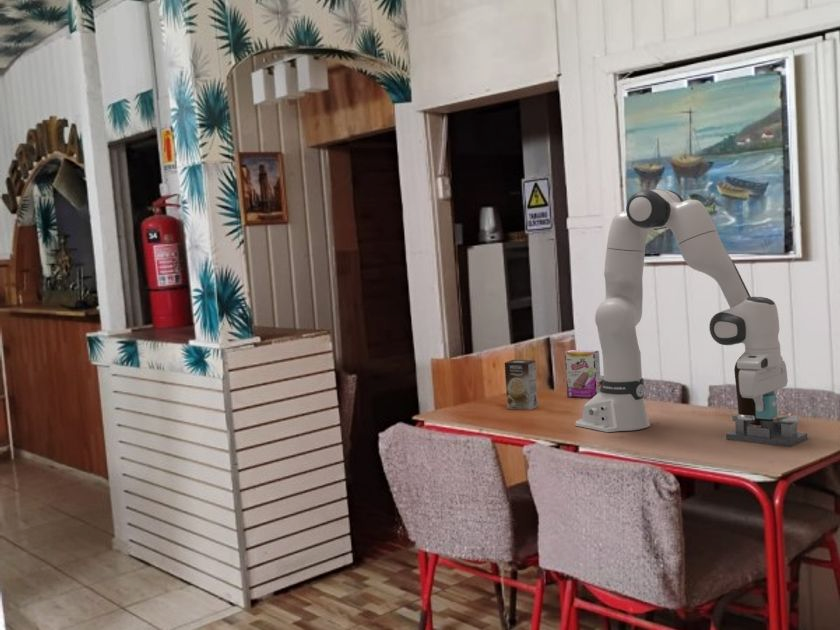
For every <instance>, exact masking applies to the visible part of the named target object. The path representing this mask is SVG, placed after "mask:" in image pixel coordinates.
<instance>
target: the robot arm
mask: <svg viewBox="0 0 840 630" xmlns="http://www.w3.org/2000/svg"><path fill="white" fill-rule="evenodd" d="M666 228H667V229H669V230H671V232H672V233H673V236H674V238H675V240H676V244H677V246H678V249H679V251H680V252H679V253H680V255H681V256H682V258H683V261H685V263H686V265H687V266H688V267H689V268H691V269H693V270H695V271H698V272H701V273H703V274H706V275H707V276H709V277H710V278H712V279H713V280H714V281H716V282H717V284H718V286H719V287H720V290H721V291H722V294H723V296H724V298H725V300H726V302H727V304H728V306H729V308H728V309H724V310H721V311H719V312H717V313H716V314H714V315H713V316H712V317H711V320H710V322H709V327H708V328H709V332H710V335H711V337H712V339H713V341H715V342H716V343H717V344H719V345H721V346H734V345H737V344H743V345H744V350H745V351H744V352H743V353H744V354H743V353H742V354H743V355H742V354H741V356H742V357H741V356H740V357H741V358H740V357H739V358H740V359H739V358H738V359H739V360H738V359H737V360H738V361H737V360H736V362H737V368H738V369H740V371H739V389H740V394H741V396H742V397H743V398H753V400H754V402H755V404H756V410H757V411H764V410H765V404H763V401H762V399H763V395H764V394H766V393H767V394H776V395H777V390H780V389H782V388H785V387H786V386H787V385H788V381H789V380H788V371H787V364H786V362H785V360H784V359H783V356H782V355H781V343H780V341H779V333H780V320H779V312H778V311H779V310H778V307H777V304H776V302H775V301H774V300H772V299H770V298H768V297H762V296H751V294H750V293H749V290H748V288H747V286H746V284H745V282H744V280H743V278H742V275H741V274H740V272H739V269H738V268H737V266H736V264H735V263H734V261H733V259H732V258H731V256H730V254H728V252H727V249H726V248H725V246H724V243H723V242H722V240H721V237H720V235H719V232H718V230H717V228H716V225H715V224H714V221H713V219H712V217H711V215H710V213H709V212H708V210H707V207H705V205H704V204H703V203H702V201H700V200H698V199H686V200H684V198H683V197H682V196H681V195H680V194H678V193H677V192H675V191H673V190H666V189H660V188H656V189H654V188H653V189H643V190H639V191H637V192H635V193H634V194H633V195H631V197H630V198H629V199H628V201H627V204H626V209H625V210H623V211H619V212H618V213H616V214H615V215H614V216H613V217H612V220H611V223H610V227H609V231H608V236H607V243H606V249H605V250H606V252H605V259H604V260H605V262H604V272H603V275H604V279H605V281H604V282H605V299H604V301H602V302H601V303H600V304H599V305H598V307H597V308H596V311H595V316H594V318H595V319H594V321H595V325H596V327H597V332H598V338H599V344H600V347H601V354H602V365H603V366H602V367H603V370H602V371H603V379H602V380H601V382H598V383H599V384H598V383H597V384H598V385H597V386H601V387H600V392H599V393H598V394H596V395H595V396H594V397H593V398H590V400H588V401H586V403H585V404H584V405H583V409H582V418H580V419H577V420H576V421H575V427H576V426H577V427H581V428H585V429H590V430H594V431H595V430H596V431H600V432H605V433H612V432H613V433H614V432H629V431H638V430H643V429H646V428H649V427H650V426H651V423H650V420H649V416H648V413H647V410H646V404H645V383H644V378H643V374H642V373H643V371H642V354H641V353H642V352H641V350H640V346H639V342H638V337H637V331H636V326H637V325H639V323H640V322H641V319H642V316H643V297H644V296H643V292H644V290H643V289H644V287H643V275H644V264H645V256H646V255H645V254H646V244H647V243H646V242H647V238H648V235H649V233H650V232H651V231H652V230H654V231H657V230H662V229H666Z"/></svg>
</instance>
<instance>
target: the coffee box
mask: <svg viewBox="0 0 840 630" xmlns="http://www.w3.org/2000/svg"><path fill="white" fill-rule="evenodd" d="M536 367H537V366H536V360H531V359H530V360H529V359H511V360H509V361H506V362H504V373H505V375H504V376H505V377H504V378H505V391H506V394H505V395H506V408H507V409H510V410H525V411H526V410H527V411H530V410H533V409H536V408H537V406H539V405H538V404H539V401H538V388H537V387H538V385H537V370H536Z"/></svg>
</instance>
